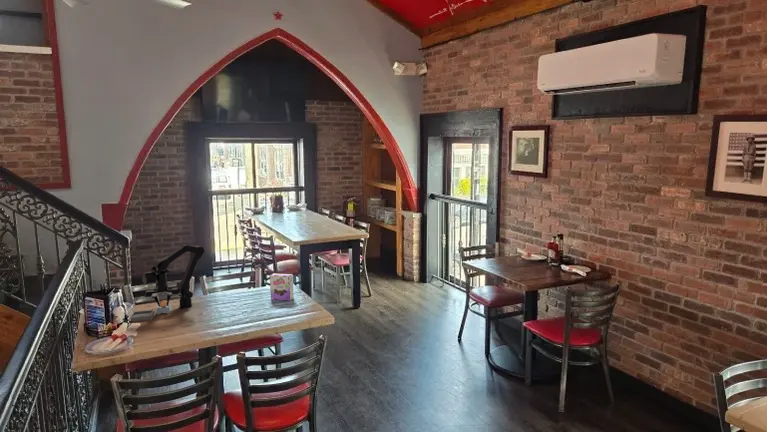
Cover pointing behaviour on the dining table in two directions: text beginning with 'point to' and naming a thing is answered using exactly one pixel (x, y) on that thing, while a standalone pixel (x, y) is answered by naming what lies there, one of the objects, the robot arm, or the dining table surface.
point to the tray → (142, 315)
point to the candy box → (281, 287)
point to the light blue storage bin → (164, 309)
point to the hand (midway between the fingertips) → (163, 305)
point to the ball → (163, 303)
